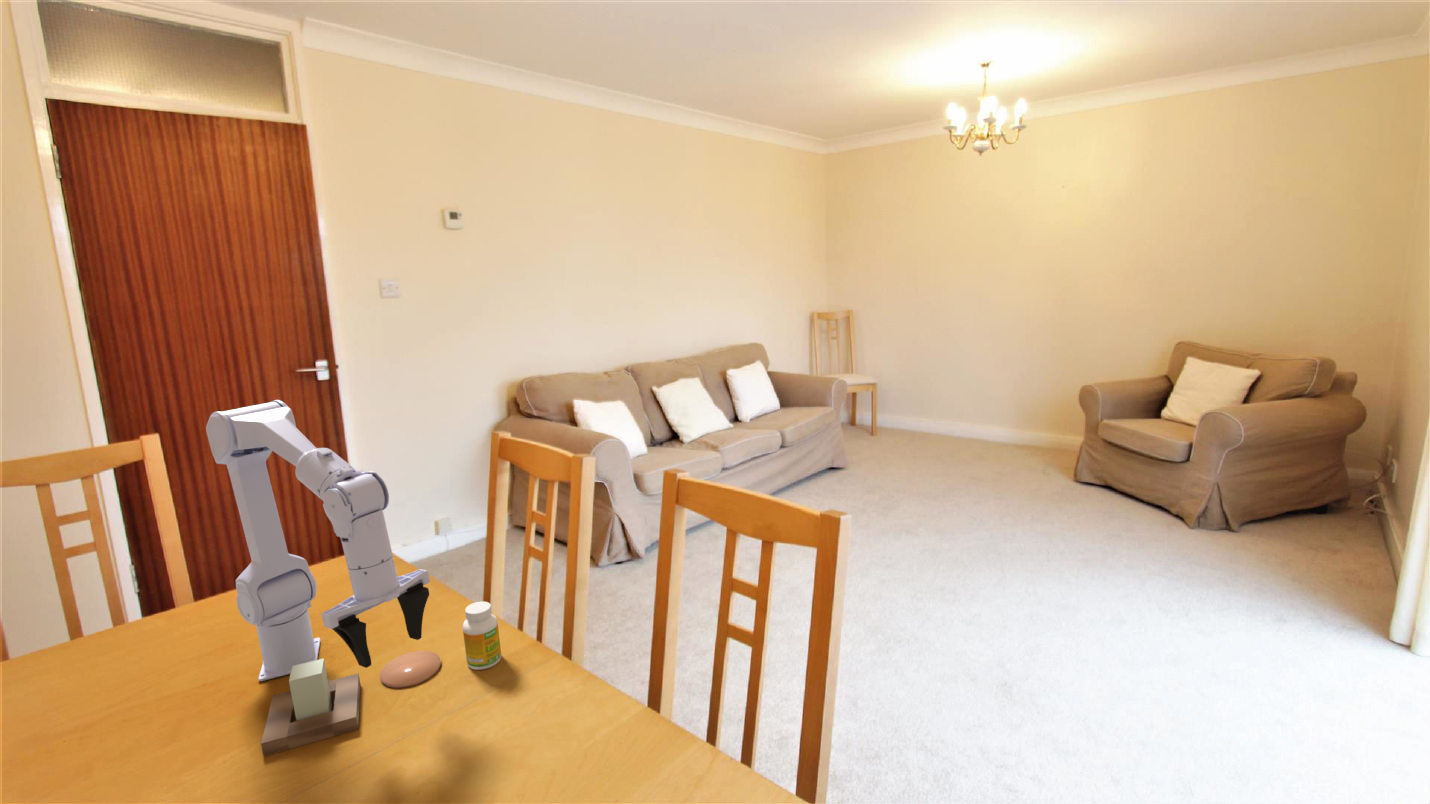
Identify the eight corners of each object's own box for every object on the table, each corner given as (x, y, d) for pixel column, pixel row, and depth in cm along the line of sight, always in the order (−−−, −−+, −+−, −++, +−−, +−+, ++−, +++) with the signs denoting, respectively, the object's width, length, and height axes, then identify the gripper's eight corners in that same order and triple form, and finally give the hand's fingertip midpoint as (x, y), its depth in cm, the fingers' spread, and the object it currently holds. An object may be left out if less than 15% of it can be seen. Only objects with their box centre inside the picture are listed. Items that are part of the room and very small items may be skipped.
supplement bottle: (490, 672, 108) (484, 617, 106) (460, 669, 109) (453, 614, 107) (507, 653, 113) (501, 600, 111) (478, 650, 114) (472, 597, 112)
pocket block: (275, 707, 101) (273, 695, 101) (360, 684, 106) (358, 673, 106) (263, 756, 91) (260, 743, 91) (358, 729, 96) (356, 716, 95)
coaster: (380, 663, 111) (379, 660, 111) (438, 648, 115) (438, 645, 115) (380, 694, 103) (379, 691, 103) (443, 677, 107) (442, 674, 107)
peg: (301, 714, 99) (292, 666, 98) (332, 706, 101) (323, 658, 99) (298, 731, 96) (288, 681, 94) (330, 722, 98) (321, 673, 96)
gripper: (332, 587, 86) (356, 684, 88) (433, 544, 97) (452, 631, 100) (305, 580, 90) (328, 673, 92) (405, 539, 101) (424, 623, 104)
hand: (391, 651), depth 96 cm, fingers open, 7 cm apart
